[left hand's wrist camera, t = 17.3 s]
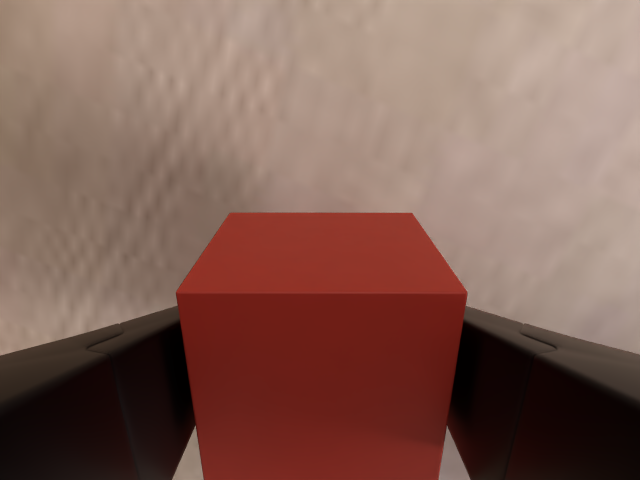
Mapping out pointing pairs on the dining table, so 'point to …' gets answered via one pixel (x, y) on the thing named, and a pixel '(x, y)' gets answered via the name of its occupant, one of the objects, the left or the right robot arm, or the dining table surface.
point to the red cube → (321, 347)
